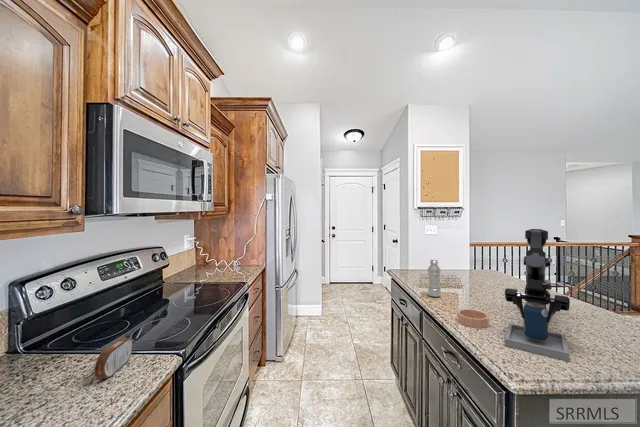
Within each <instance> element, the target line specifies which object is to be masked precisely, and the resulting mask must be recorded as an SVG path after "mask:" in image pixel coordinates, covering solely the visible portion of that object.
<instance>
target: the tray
mask: <svg viewBox="0 0 640 427" xmlns="http://www.w3.org/2000/svg"><path fill="white" fill-rule="evenodd" d="M505 332H506V334H505V337H504V347H508V348H510V349H511V348H513V349H516V350H520V351H525V352H528V353H532V354H537V355H540V356H545V357H549V358H552V359H553V358H554V359H557V360H561V361H564V362H570V350H569V347H568V341H567V337H566V334H565V333H560V332H556V331H551V330H548V338H547V339H546V340H545V341H536V340H532V339H530V338H528V337H527V336H526V335H525V333H524V325H521V324H516V323H511V322H508V325H507V329H506V331H505Z"/></svg>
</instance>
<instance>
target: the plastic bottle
mask: <svg viewBox="0 0 640 427" xmlns="http://www.w3.org/2000/svg"><path fill="white" fill-rule="evenodd" d="M438 262H439V261H438V260H437V259H430V262H429V263H430V265H429V266H428V268H427V274H428V275H427V276H428V289H427V293H428V296H430V297H432V298H438V297H439V298H440V296H441V295H442V290H441V284H440V280H441V279H440V278H441V277H440V276H441V268H440V266H439V265H438V264H439V263H438Z"/></svg>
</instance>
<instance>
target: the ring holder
mask: <svg viewBox="0 0 640 427" xmlns="http://www.w3.org/2000/svg"><path fill="white" fill-rule="evenodd" d="M456 312H457V313H456V319H457V322H458V323H459V324H461V325H463V326H466V327H469V326H470V327H469V328H473V327H475V328H474V329H484V328H488V327H489V326H490V316H489V315H488V314H487V313H486V312H483V311H481V310H476V309H470V308H469V309H468V308H463V309H459V310H457V311H456Z"/></svg>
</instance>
